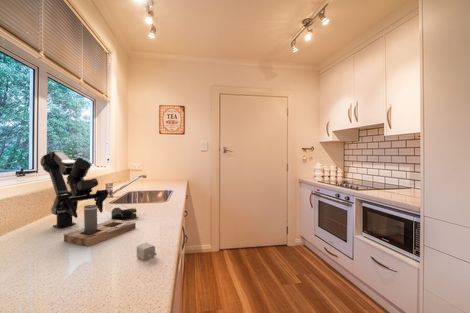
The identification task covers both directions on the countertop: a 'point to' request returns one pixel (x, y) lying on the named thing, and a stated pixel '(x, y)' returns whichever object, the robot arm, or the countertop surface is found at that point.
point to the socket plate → (100, 232)
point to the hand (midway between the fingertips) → (89, 214)
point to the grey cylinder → (90, 219)
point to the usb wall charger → (146, 251)
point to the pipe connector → (123, 213)
